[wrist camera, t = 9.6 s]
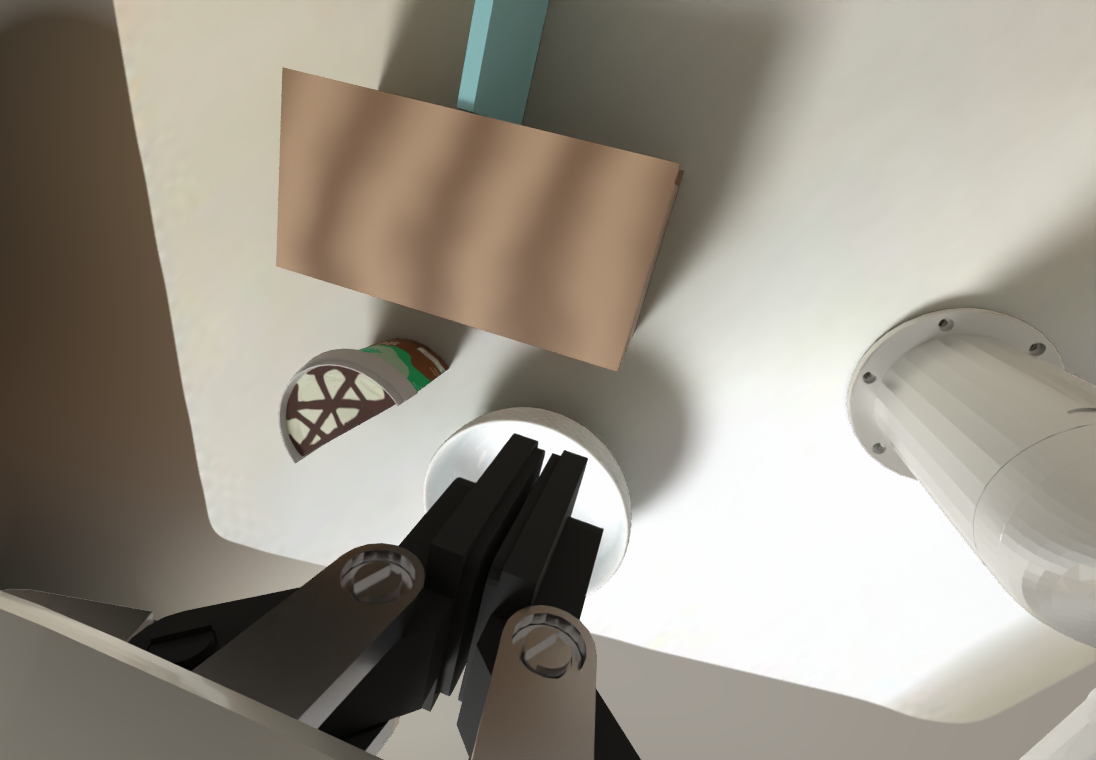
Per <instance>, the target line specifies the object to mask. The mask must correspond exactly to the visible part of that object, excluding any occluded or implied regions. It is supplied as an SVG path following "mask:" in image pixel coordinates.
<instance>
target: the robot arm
mask: <svg viewBox="0 0 1096 760" xmlns="http://www.w3.org/2000/svg"><path fill="white" fill-rule="evenodd" d="M943 319H944V320H945V321H944V323H943V324H942V325H939V322H940V321H941V320H943ZM1033 344H1034V345H1033ZM1032 345H1033V347H1032V348H1030V347H1031V346H1032ZM1029 348H1030V349H1029ZM867 372H870V374H869V376H867V377H863V375H864V374H865V373H867ZM846 406H847V412H848V419H849V422H850V425H851V427H852V430H853V432H854V434H855V436H856V437H857V439H858V441H859V442H860V444H861V445H862V447H863V448H864V449H865V450H866V452H867V453H868V454H869V455H870V456H871V457H872V458H873V459H875V460H876V461H877V462H878V463H880V464H881V465H882V466H884V467H885V468H887V469H889V470H891V471H893V472H895V473H897V474H899V475H901V476H904V477H908V478H911V479H914V480H917V481H919V482H920V483H921V485H922V486H923V487H924V489H925V490H926V491H927V492H928V494H929V495H930V496H931V498H932V499H933V500H934V501H935V503H936V504H937V505H938V507H939V508H940V509H941V510H942V512H943V513H944V514H945V516H946V517H947V518H948V519H949V521H950V522H951V523H952V525H953V526H954V527H955V528H956V530H957V531H958V532H959V534H960V535H961V536H962V537H963V539H964V540H965V541H966V542H967V544H968V545H969V546H970V548H971V549H972V550H973V551H974V553H975V554H976V555H977V557H978V558H979V559H980V560H981V561H982V563H983V564H984V565H985V566H986V567H987V569H988V570H989V571H990V573H991V574H992V575H993V576H994V578H995V579H996V580H997V581H998V583H999V584H1000V585H1001V586H1002V588H1003V589H1004V590H1005V591H1006V592H1007V593H1008V594H1009V595H1010V596H1011V597H1012V598H1013V599H1014V600H1015V601H1016V602H1017V603H1018V604H1019V605H1020V606H1021V607H1022V608H1024V609H1025V610H1026V611H1027V612H1028V613H1030V614H1031V615H1032V616H1034V617H1035V618H1036V619H1038V620H1039V621H1041V622H1042V623H1044V624H1046V625H1047V626H1049V627H1051V628H1053V629H1054V630H1056V631H1058V632H1060V633H1062V634H1063V635H1065V636H1067V637H1070V638H1072V639H1074V640H1076V641H1079V642H1081V643H1084V644H1086V645H1089V646H1092V647H1094V648H1096V385H1094V384H1092V383H1089V382H1087V381H1085V380H1083V379H1081V378H1079V377H1077V376H1075V375H1073V374H1071V373H1068V372H1066V371H1065V368H1064V364H1063V361H1062V359H1061V357H1060V355H1059V354H1058V352H1057V350H1056V349H1055V347H1054V346H1053V344H1052V343H1051V342H1050V341H1049V340H1048V339H1047V338H1046V337H1045V336H1044V335H1043V334H1042V333H1041V332H1040V331H1038V330H1036V329H1035V328H1033V327H1032V326H1030V325H1028V324H1027V323H1025V322H1023V321H1021V320H1019V319H1016V318H1014V317H1011V316H1009V315H1006V314H1002V313H999V312H995V311H991V310H987V309H976V308H956V309H944V310H940V311H936V312H931V313H927V314H923V315H921V316H919V317H916V318H914V319H911V320H909V321H906V322H904V323H902V324H901V325H899V326H897V327H896V328H894V329H892V330H891V331H889V332H887V333H886V334H885V335H884V336H883V337H881V338H880V339H879V340H878V341H877V342H876V343H874V344H873V345H872V346H871V348H870V349H869V350H868V351H867V352H866V354H865V355H864V356H863V357H862V358H861V360H860V362H859V363H858V365H857V367H856V369H855V371H854V372H853V374H852V378H851V381H850V384H849V387H848V392H847V404H846ZM877 443H879V444H878V445H877V446H874V445H875V444H877ZM544 456H545V450H543V449H540V448H538V441H537V440H534V439H531V438H528V437H525V436H522V435H519V434H516V433H514V434H513V435H512V436H511V437H510V439H509V440H508V441H507V443H506V444H505V445H504V446H503V448H502V449H501V450H500V452H499V453H498V454H497V456H496V457H495V458H494V460H493V461H492V462H491V464H490V465H489V466H488V468H487V469H486V470H485V472H484V473H483V474H482V476H481V477H480V478H479V479H478V481H477V482H476V483H475V482H472V481H469V480H467V479H464V478H461V477H457V478H456V479H455V480H454V481H453V482H452V483H451V484H450V485H449V487H448V488H447V489H446V490H445V491H444V493H443V494H442V495H441V496H440V497H439V499H438V500H437V501H436V502H435V503H434V504H433V506H432V507H431V508H430V509H429V510H428V512H427V513H426V514H425V515H424V516H423V518H422V519H421V520H420V521H419V522H418V523H417V525H416V526H415V527H414V528H413V529H412V531H411V532H410V533H409V534H408V535H407V537H406V538H405V539H404V540H403V541H402V542H401V544H400V545H399V546H396V545H391V544H384V543H378V544H367V545H363V546H360V547H357V548H354V549H352V550H350V551H349V552H347V553H345V554H343V555H342V556H341V557H339V558H338V559H337V560H335V561H334V562H333V563H331V564H330V565H329V566H328V567H326V568H325V569H324V570H322V571H321V572H320V573H319V574H317V575H316V576H315V577H313V578H312V579H311V580H309V581H308V582H307V583H305V584H304V585H303V586H302V587H300V588H295V589H290V590H285V591H280V592H276V593H271V594H266V595H261V596H257V597H251V598H246V599H241V600H236V601H231V602H226V603H221V604H217V605H212V606H207V607H202V608H197V609H192V610H187V611H183V612H180V613H176V614H173V615H170V616H166V617H164V618H162V619H160V620H158V621H157V620H153V612H152V611H146V610H141V609H135V608H130V607H124V606H119V605H113V604H107V603H102V602H96V601H90V600H85V599H79V598H74V597H68V596H63V595H57V594H52V593H46V592H40V591H35V590H27V589H26V590H25V589H8V590H3V591H0V760H383V759H381V758H379V757H377V756H376V755H377V754H378V752H379V751H380V750H381V748H382V747H383V746H384V744H385V743H386V741H387V740H388V739H389V737H390V736H391V735H392V734H393V732H394V730H395V728H396V726H397V724H398V723H399V718H400V716H402V715H405V714H407V713H411V712H413V711H416V710H419V709H421V708H423V709H425V710H428V711H431V709H432V707H433V706H434V704H435V702H436V699H437V698H438V696H439V694H440V692H441V693H443V694H445V695H448V696H450V695H451V693H452V692H453V690H454V688H455V686H456V684H457V682H458V680H459V678H460V676H461V673H462V671H463V669H464V667H465V665H466V668H465V672H464V676H463V681H462V685H461V689H460V693H459V698H458V700H459V701H461V702H462V705H461V709H460V713H459V717H458V721H457V727H458V729H459V732H460V734H461V737H462V739H463V742H464V745H465V748H466V750H467V753H468V755H469V759H468V760H641V759H640V758H639V756H638V754H637V753H636V751H635V750H634V748H633V746H632V745H631V743H630V742H629V740H628V739H627V737H626V735H625V734H624V732H623V731H622V729H621V727H620V726H619V725H618V723H617V721H616V720H615V718H614V716H613V715H612V713H611V712H610V710H609V708H608V707H607V705H606V704H605V702H604V700H603V699H602V697H601V696H600V694H599V693H598V691H597V689H596V667H597V654H596V647H595V643H594V640H593V639H592V636H591V634H590V632H589V631H588V629H587V628H586V627H585V626H584V625H583V624H582V623H581V622H580V616H581V612H582V608H583V605H584V601H585V597H586V594H587V590H588V586H589V583H590V579H591V575H592V572H593V568H594V564H595V560H596V557H597V553H598V549H599V546H600V542H601V538H602V535H603V531H604V529H603V528H600V527H597V526H595V525H592V524H589V523H586V522H583V521H581V520H578V519H575V518H572V517H571V515H572V512H573V508H574V505H575V502H576V498H577V495H578V492H579V488H580V485H581V482H582V478H583V475H584V472H585V468H586V465H587V461H588V458H587V457H584V456H581V455H578V454H575V453H572V452H569V451H566V450H564V451H563V452H562V454H561V456H560V455H557V454H554V453H552V454H551V456H550V458H549V460H548V462H547V464H546V465H545V467H544V469H543V471H542V473H541V474H540V472H541V468H542V464H543V460H544ZM466 663H467V664H466ZM1019 760H1096V688H1095V689H1093V690H1092V691H1091V692H1090V693H1089V695H1088V697H1087V699H1086V700H1085V701H1084V702H1083V703H1082V704H1081V705H1080V706H1078V707H1077V708H1076V709H1075V710H1074V711H1073V712H1072V713H1071V714H1069V715H1068V716H1067V717H1066V718H1065V719H1064V720H1063V721H1062V722H1061V723H1060V724H1058V725H1057V726H1056V727H1055V728H1054V729H1053V730H1052V731H1051V732H1049V733H1048V734H1047V735H1046V736H1045V737H1044V738H1043V739H1042V740H1041V741H1039V742H1038V743H1037V744H1036V745H1035V746H1034V747H1033V748H1032V749H1030V750H1029V751H1028V752H1027V753H1026V754H1025V755H1024V756H1023V757H1022V758H1020V759H1019Z"/></svg>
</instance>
